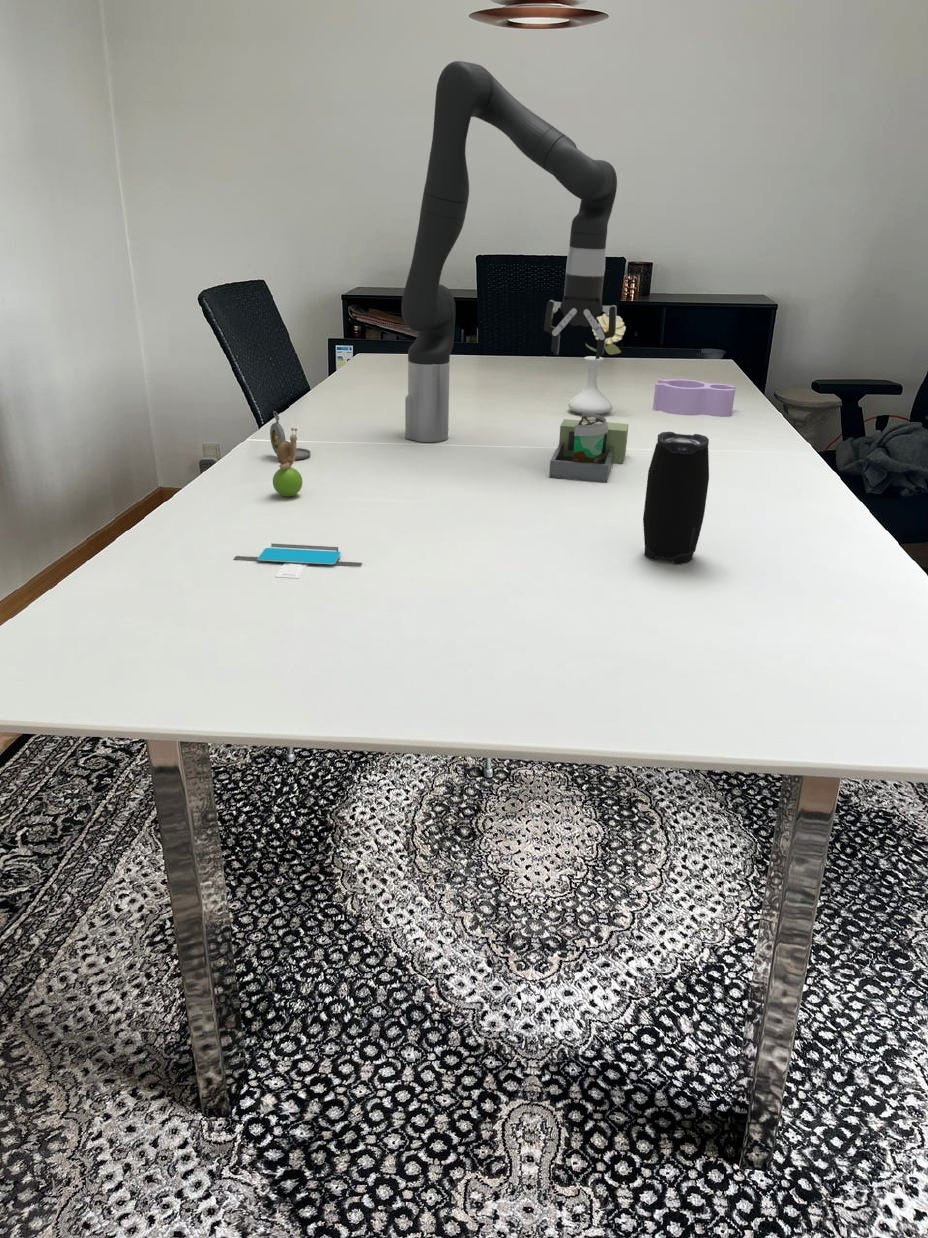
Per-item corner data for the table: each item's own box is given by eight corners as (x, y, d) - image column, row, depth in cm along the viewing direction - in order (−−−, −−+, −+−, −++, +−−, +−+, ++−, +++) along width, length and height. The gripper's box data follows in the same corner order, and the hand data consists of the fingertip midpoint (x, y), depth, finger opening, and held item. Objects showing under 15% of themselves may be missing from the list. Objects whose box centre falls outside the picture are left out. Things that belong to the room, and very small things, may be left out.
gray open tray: (549, 477, 194) (550, 460, 193) (559, 457, 208) (560, 441, 206) (606, 482, 192) (608, 465, 190) (612, 462, 206) (614, 446, 204)
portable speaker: (631, 548, 158) (643, 431, 150) (683, 545, 161) (698, 429, 152) (653, 567, 151) (667, 445, 143) (707, 563, 153) (724, 442, 145)
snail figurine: (310, 492, 182) (308, 429, 176) (294, 501, 176) (291, 437, 171) (285, 488, 183) (281, 426, 178) (268, 498, 178) (264, 433, 172)
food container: (601, 477, 194) (606, 427, 189) (571, 474, 195) (574, 425, 191) (607, 461, 204) (611, 414, 200) (578, 458, 206) (582, 412, 201)
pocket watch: (316, 455, 205) (314, 408, 201) (294, 464, 198) (291, 416, 194) (284, 450, 208) (282, 403, 204) (261, 459, 201) (258, 411, 197)
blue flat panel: (221, 578, 144) (220, 567, 144) (244, 549, 155) (243, 540, 154) (353, 585, 143) (353, 575, 142) (367, 556, 154) (367, 546, 153)
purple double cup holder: (732, 409, 256) (736, 383, 253) (729, 420, 245) (733, 392, 242) (657, 403, 261) (660, 377, 258) (651, 412, 251) (654, 385, 248)
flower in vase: (562, 414, 245) (569, 312, 235) (574, 405, 255) (581, 307, 244) (612, 420, 241) (621, 316, 230) (622, 411, 250) (632, 311, 240)
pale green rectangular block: (557, 458, 207) (560, 426, 205) (561, 450, 214) (564, 418, 211) (623, 463, 205) (626, 431, 202) (625, 455, 211) (628, 423, 208)
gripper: (546, 271, 187) (539, 356, 194) (619, 276, 184) (610, 362, 191) (552, 267, 194) (545, 350, 201) (623, 272, 191) (613, 356, 198)
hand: (577, 356), depth 196 cm, fingers open, 8 cm apart
